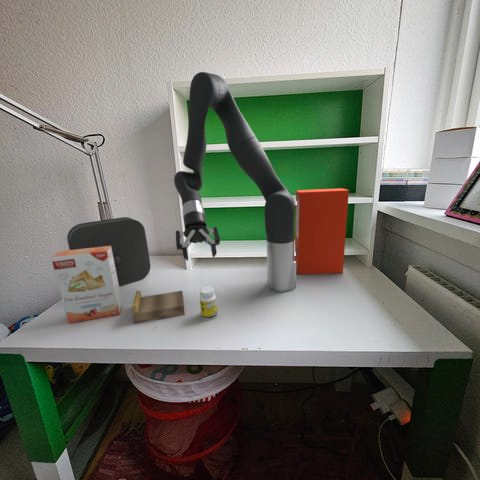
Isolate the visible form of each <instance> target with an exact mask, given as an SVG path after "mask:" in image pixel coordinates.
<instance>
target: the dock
mask: <svg viewBox="0 0 480 480" xmlns="http://www.w3.org/2000/svg"><path fill="white" fill-rule="evenodd" d="M183 294H184V293H183V290H177V291H171V292H166V293H159V294H154V295H146V296H142V293H141V290H136V292H135V295H134V297H133V300H132V304H131V310H132V317H133V321H134V324H139V323H146V322H152V321H157V320H163V319H168V318H172V317H179V316H183V315H185V314H186V313H185V304H184V303H185V301H184V295H183Z"/></svg>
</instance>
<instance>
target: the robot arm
mask: <svg viewBox="0 0 480 480" xmlns="http://www.w3.org/2000/svg"><path fill="white" fill-rule="evenodd" d="M188 103H189V104H188V105H189V106H188V124H187V125H188V126H187V137H186V138H187V139H186V143H185V149H184V154H183V160H182V164H183V165H184V166H185V167H186V168H188V169H190V170H192V171H194V172H189V171H184V170H180V171H177V172H176V173H175V175H174V178H173V183H174V186H175V189H176V191H177V192H178V194H179V197H180V199H181V204H182V219H183V224H184V231H180V230H175V244H176V245H175V246H176V249H177V251H178V250H179V251H180V250H182V254H183V255H182V257H183V259H184V260H185V261H189V255H188V254H189V252H188V248H189V247H190V246H191V245H192V243H193V244H197V243H203V242H205V244H206V245H208V246H210V250H211V256H212V258H215V257H216V255H217V246H219V245H220V242H221V238H220V235H219V231H218V227H216V226H214V227H213V228H208V225H207V220H206V214H205V208H204V206H203V201H202V196H201V193H200V190H202V187H203V163H204V159H205V155H206V150H207V135H206V120H207V115H208V112H209V109H212V110H213V112H215V114H216V115H217V117H218V118H219V121H220V122H221V123H222V126H223V128H224V131H225V137H226V143H227V146H228V149H229V151H230V153H231V154H232V157H234V160H235V161H236V162H237V164H238V166H239V167H240V168H241V170H242V171H243V172H244V173H245V174H246V175H247V177H249V178H250V180H251V181H252V182H254V184H255V185H256V186H257V188H258V189H259V191H260V193H261V195H262V196H263V198H264V200H265V203H264V228H265V229H264V230H265V235H266V269H267V270H266V272H267V273H266V275H267V277H266V279H267V282H266V283H267V288H268V289H269V290H270V291H274V292H278V293H284V292H285V293H286V292H289V291H291V290H293V289H294V288H297V271H296V262H295V209H296V200H295V198H294V197H293V195H292V194H291V193H290V192H289V190H288V189H287V188H286V186H285V185H284V184H283V183H282V181H281V180H280V178H279V176H278V175H277V174H276V172H275V169H274V167H273V165H272V164H271V162H270V159H269V157H268V156H267V153H266V152H265V150H264V148H263V146H262V143H260V141H259V140H258V138H257V136H256V135H255V133H254V131H253V130H252V128H251V127H250V125H249V123H248V122H247V120H246V119H245V117H244V116H243V114H242V112H241V111H240V109H239V107H238V105H237V102H236V101H235V99H234V96H233V94H232V92H231V90H230V88H229V86H228V84H227V82H226V81H225V79H223V77H221V76H220V75H218V74H215V73H210V72H206V71H199V72H197V73H196V74H195V75H193V77H192V80H191V82H190V87H189V101H188ZM209 234H211V235H212V236H213V238H214V239H213V238H212V237H211V236H210V235H209ZM183 237H185V239H184V242H183V243H182V244H181V239H182V238H183Z"/></svg>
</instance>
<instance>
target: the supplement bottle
mask: <svg viewBox="0 0 480 480" xmlns="http://www.w3.org/2000/svg"><path fill="white" fill-rule="evenodd" d="M199 292H200V293H199V294H200V296H199V307H200V316H201V318H202V319H204V320H207V321H209V320H214V319H215V318H217V316H218V305H217V296H216V293H215V288H214V287H212V286H204V287H202V288H201V289H200V290H199Z"/></svg>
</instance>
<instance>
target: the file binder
mask: <svg viewBox="0 0 480 480" xmlns="http://www.w3.org/2000/svg"><path fill="white" fill-rule="evenodd" d="M349 192H350V190H349V189H345V188H323V189H322V188H321V189H302V190H301V189H299V190H295V202H296V201H297V205H296V204H295V213H294V253H295V252H296V256H295V255H294V261H295V262H296V274H297V275H319V274H320V275H321V274H344V264H345V263H344V261H345V249H346V248H345V247H346V235H347V224H348V223H347V222H348V221H347V220H348V207H349V194H350V193H349Z"/></svg>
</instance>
